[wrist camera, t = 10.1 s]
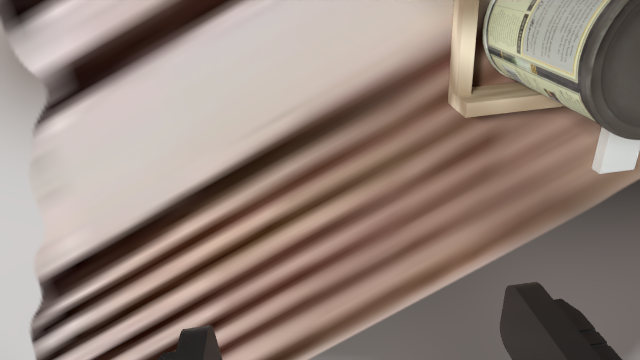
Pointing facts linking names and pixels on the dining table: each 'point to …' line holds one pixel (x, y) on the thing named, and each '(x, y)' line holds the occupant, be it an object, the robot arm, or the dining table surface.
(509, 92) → the frame
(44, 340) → the dining table surface
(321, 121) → the dining table surface
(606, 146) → the empty strip
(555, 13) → the coffee can
